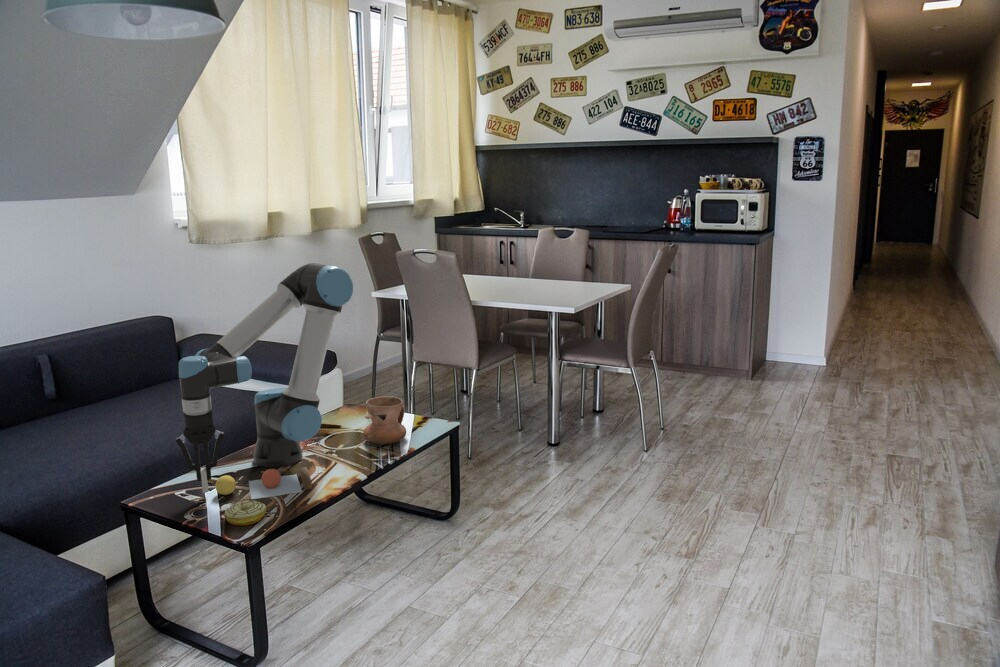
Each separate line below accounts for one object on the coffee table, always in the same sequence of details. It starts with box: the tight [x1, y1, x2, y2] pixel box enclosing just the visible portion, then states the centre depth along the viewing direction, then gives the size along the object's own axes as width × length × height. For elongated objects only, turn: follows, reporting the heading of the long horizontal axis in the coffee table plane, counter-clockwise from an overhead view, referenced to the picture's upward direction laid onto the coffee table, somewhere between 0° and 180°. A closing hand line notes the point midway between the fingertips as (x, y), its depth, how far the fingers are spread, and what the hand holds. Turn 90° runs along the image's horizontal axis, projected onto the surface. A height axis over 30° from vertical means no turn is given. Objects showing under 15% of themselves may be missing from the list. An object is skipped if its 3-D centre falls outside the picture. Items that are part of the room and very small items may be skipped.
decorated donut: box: [224, 500, 267, 527], centre depth 211 cm, size 10×11×4 cm
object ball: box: [261, 468, 282, 488], centre depth 231 cm, size 6×6×6 cm
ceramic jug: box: [363, 395, 407, 445], centre depth 268 cm, size 18×14×14 cm
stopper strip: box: [299, 466, 313, 491], centre depth 234 cm, size 2×12×2 cm, turn 20°
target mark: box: [248, 473, 303, 501], centre depth 232 cm, size 14×14×1 cm
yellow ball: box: [215, 474, 237, 496], centre depth 226 cm, size 6×6×6 cm
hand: (205, 490), depth 225 cm, fingers closed
